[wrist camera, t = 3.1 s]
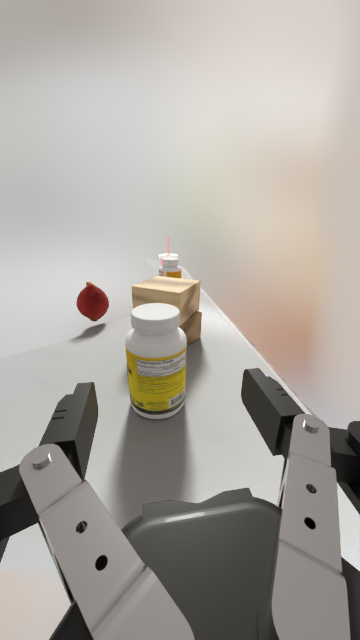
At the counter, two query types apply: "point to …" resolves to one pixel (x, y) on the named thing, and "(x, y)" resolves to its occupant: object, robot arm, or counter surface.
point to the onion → (92, 302)
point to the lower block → (192, 327)
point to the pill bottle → (156, 360)
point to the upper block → (169, 294)
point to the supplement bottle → (170, 268)
